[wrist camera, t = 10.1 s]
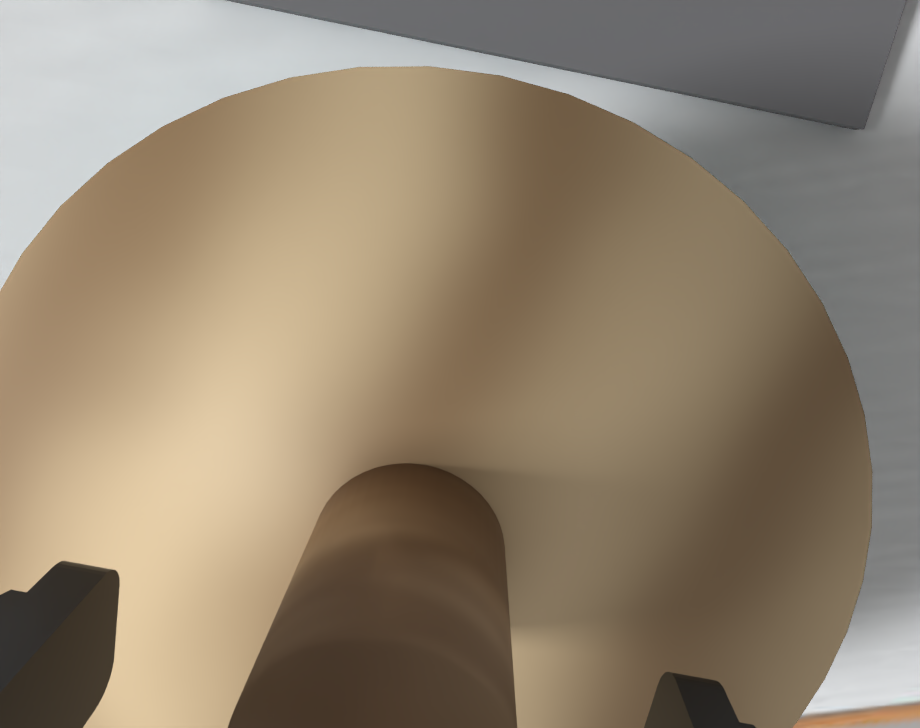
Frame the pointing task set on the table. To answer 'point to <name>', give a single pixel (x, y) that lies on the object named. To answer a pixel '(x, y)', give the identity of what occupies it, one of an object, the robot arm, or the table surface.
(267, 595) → the lid
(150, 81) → the table surface
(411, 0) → the mat
